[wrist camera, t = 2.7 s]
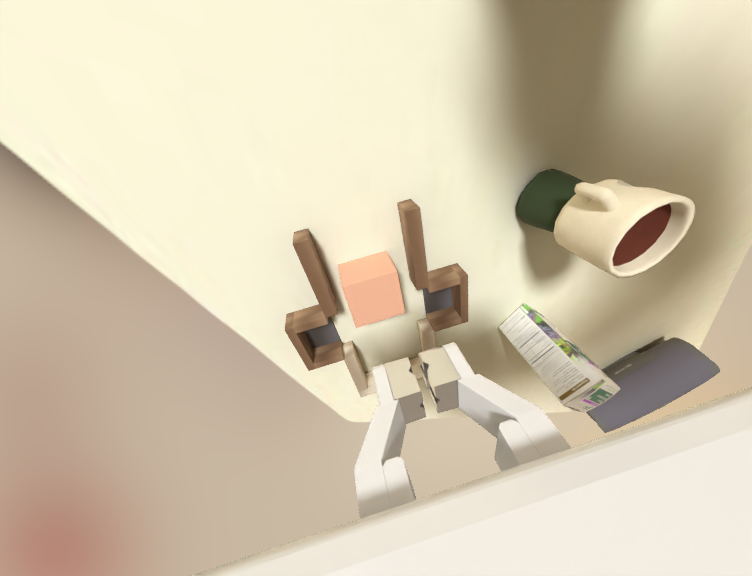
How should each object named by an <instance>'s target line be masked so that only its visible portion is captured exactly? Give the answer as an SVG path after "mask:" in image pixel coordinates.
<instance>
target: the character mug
mask: <svg viewBox="0 0 752 576" xmlns="http://www.w3.org/2000/svg"><path fill="white" fill-rule="evenodd" d="M694 215H695V204H694V202H693V201H692V200H690V199H689V198H687V197H685V196H681V195H677V194H673V193H669V192H665V191H662V190H660V189H656V188H649V187H635V186H632V185H630V184H628V183H626V182H624V181H622V180H617V179H606V180H603V181H600V182H597V183H594V184H590V183H586V182H583V181H581V180H580V179H578V178H576V177H574V176H571V175H569V174H566V173H564V172H562V171H558V170H554V169H551V170H547V171H543V172H541V173H539V174H538V175H537V176H536V177H535V178H534V179H533V180H532V181H531V182H530V183H529V185H528V186H527V187H526V189H525V190H524V191H523V193H522V195H521V198H520V200H519V203H518V216H519V217H520V218H521V220H522V221H523V222H525V223H528V224H530V225H533V226H535V227H539V228H542V229H545V230H548V231H551V232H554V236H555V240H556V243H558V244H559V245H560V246H562V247H564V248H565V249H567V250H568V251H570V252H572V253H574V254H575V255H577V256H579V257H581V258H583V259H584V260H586V261H588V262H590V263H591V264H593V265H595V266H597V267H599V268H600V269H602V270H604V271H606V272H608V273H609V274H611V275H613V276H615V277H617V278H619V277H632V276H635V275H637V274H640V273H643V272H645V271H647V270H648V269H650V268H651V267H653V266H655V265H656V264H658V263H660V262H661V261H662V260H663V259H664V258H665V257H666V256H667V255H668V254H670V253H671V252H672V251H673V250H674V249H675V248H676V246H677V245H678V244H679V243H680V241H681V240H682V239H683V238H684V236H685V235H686V234H687V232H688V230H689V228H690V226H691V224H692V222H693V220H694Z"/></svg>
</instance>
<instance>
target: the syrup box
mask: <svg viewBox="0 0 752 576" xmlns="http://www.w3.org/2000/svg"><path fill="white" fill-rule="evenodd" d="M499 329H500V330H501V331H502V333H503V334H504V335H505V336H506V337H507V339H508V340H509V341H510V342H511V343H512V345H513V346H514V347H515V348H516V349H517V351H518V352H519V353H520V354H521V355H522V357H523V358H524V359H525V360H526V361H527V363H528V364H529V365H530V366H531V367H532V369H533V370H534V371H535V372H536V374H537V375H538V376H539V377H540V378H541V380H542V381H543V382H544V383H545V384H546V386H547V387H548V388H549V389H550V390H551V392H552V393H553V394H554V395H555V396H556V398H557V399H558V400H559V401H560V402H561V404H562V405H563V406H565V407H569V408H571V409H573V410H576V411H579V412H583V413H584V412H587V411H589V410H591V409H593V408H595V407H597V406H599V405H601V404H602V403H604V402H605V401H607V400H608V399H610V398H611V397H612V396H613V395H615V394H616V393H617V392H618V391H619V390H620V387H619V386H618V385H617V384H615V383H614V382H613V381H612V380H611V379H610V378H609V377H608V376H607V375H606V374H605V373H604V372H603V371H602V370H600V369H599V368H598V367H597V366H596V365H595V364H594V363H593V362H592V361H591V360H590V359H589V358H588V357H587V356H586V355H585V354H584V353H583V352H582V351H580V350H579V349H578V348H577V347H576V346H575V345H574V344H573V343H572V342H571V341H570V340H569V339H568V338H567V337H566V336H564V335H563V334H562V333H561V332H560V331H559V330H558V329H557V328H556V327H555V326H554V325H552V324H551V323H550V322H549V321H548V320H547V319H546V318H545V317H544V316H543V315H541V314H540V313H539V312H537V311H536V310H534V309H533V308H531V307H529V306H528V305H526V304H522V305H521V306H520V307H519V308H518V309H517V310H516V311H515V312H514V313H513V314H512V315H511V316H510V317H508V318H507V319H506V320H505V321H504V322H503V323H502V324H501V325H500V326H499Z"/></svg>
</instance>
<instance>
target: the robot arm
mask: <svg viewBox="0 0 752 576" xmlns="http://www.w3.org/2000/svg"><path fill="white" fill-rule="evenodd" d="M418 356H419V360H420V362H421V365H420V367H421V371H422V375H423V378H424V381H425V383H426V386H427V388H428V389H430V392H431V398H432V400H433V403H434V405H435V407H436V410H437V412H438V413H440V412H444V411H447V410H451V409H454V408H457V407H459V409H460V410H462V411H463V412H464V413H466V414H467V415H468V416H469V417H471V418H472V419H473V420H474V421H476V422H477V423H478V424H479V425H481V426H482V427H483V428H485V429H486V430H487V431H488V432H490V433H491V434H492V435H493V436H495V437H496V438H497V445H496V452H495V460H496V462H497V464H498V466H499V468H500V470H501V472H498V473H495V474H492V475H489V476H486V477H483V478H480V479H477V480H474V481H471V482H468V483H465V484H462V485H459V486H456V487H453V488H451V489H448V490H444V491H442V492H439V493H436V494H433V495H430V496H427V497H424V498H421V499H418V500H416V496H415V493H414V489H413V486H412V483H411V480H410V478H409V475H408V472H407V469H406V466H405V464H404V461H403V459H401V458H400V453H401V448H402V444H403V438H404V434H405V429H406V424H408V423H410V422H413V421H416V420H419V419H422V418H425V417H426V414H425V409H424V406H423V403H422V402H423V398H422V394H421V390H420V387H419V385H418V382H417V379H416V377H415V375H414V374H413V372H412V367H411V364H410V361H409V359H408V357H406V358H402V359H399V360H395V361H392V362H388V363H385V364H381V365H378V366H375V367H372V373H373V377H374V382H375V386H376V390H377V394H378V399H379V403H380V405H378V406H376V409H375V411H374V414H373V417H372V420H371V423H370V426H369V429H368V432H367V434H366V437H365V440H364V443H363V446H362V449H361V452H360V454H359V457H358V460H357V463H356V466H355V469H354V472H355V480H356V489H357V498H358V506H359V514H360V519H359V520H355V521H352V522H349V523H347V524H344V525H341V526H337V527H334V528H332V529H329V530H325V531H322V532H319V533H316V534H314V535H311V536H308V537H305V538H302V539H299V540H296V541H293V542H290V543H287V544H284V545H281V546H278V547H275V548H272V549H269V550H266V551H263V552H260V553H257V554H254V555H251V556H248V557H245V558H242V559H239V560H236V561H233V562H230V563H227V564H224V565H221V566H218V567H216V568H213V569H209V570H206V571H203V572H200V573H198V574H195V575H192V576H752V387H751V388H748V389H745V390H742V391H739V392H736V393H733V394H730V395H727V396H724V397H721V398H718V399H715V400H712V401H709V402H707V403H703V404H700V405H697V406H695V407H691V408H689V409H685V410H683V411H679V412H677V413H673V414H671V415H668V416H665V417H662V418H659V419H656V420H653V421H650V422H647V423H644V424H641V425H638V426H635V427H632V428H629V429H626V430H623V431H620V432H617V433H614V434H611V435H608V436H605V437H602V438H599V439H596V440H593V441H590V442H587V443H584V444H581V445H578V446H576V447H572V448H571V447H570V445H568V443H567V442H566V440H565V439H564V438H563V436H562V435H561V434H560V432H559V431H558V430H557V428H556V427H555V426H554V425H553V423H552V422H551V421H550V419H549V418H548V417H547V415H546V414H545V413H544V411H543V410H542V409H541V408H539V407H538V406H536V405H534V404H532V403H530V402H529V401H527V400H525V399H523V398H521V397H520V396H518V395H516V394H514V393H513V392H511V391H509V390H507V389H505V388H504V387H502V386H500V385H498V384H496V383H495V382H493V381H491V380H489V379H488V378H486V377H484V376H482V375H480V374H474V372H473V370H472V369H471V367H470V366H469V364H468V362H467V361H466V359H465V357H464V356H463V354H462V353H461V351H460V349H459V348H458V346H457V345H456V343H454V342H452V343H449V344H446V345H443V346H438V347H435V348H432V349H429V350H426V351H423V352H420V353H418ZM384 365H385V366H384Z"/></svg>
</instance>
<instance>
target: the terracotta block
mask: <svg viewBox="0 0 752 576" xmlns="http://www.w3.org/2000/svg"><path fill="white" fill-rule="evenodd" d="M338 269H339V274H340V280H341V285H342V289H343V292H344V295H345V298H346V300H347V303H348V306H349V309H350V312H351V314H352V317H353V320H354V323H355V325H356V328H357V327H361V326H364V325H367V324H370V323H374V322H377V321H380V320H384V319H387V318H390V317H393V316H397V315H400V314H403V313H405V309H404V304H403V299H402V294H401V289H400V284H399V279H398V273H397V270H396V268H395V266H394V264H393V263H392V261H391V259H390V257H389V255H388V253H387V251H384V252H380V253H377V254H373V255H370V256H367V257H363V258H360V259H356V260H353V261H349V262H346V263H343V264H339V265H338Z"/></svg>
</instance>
